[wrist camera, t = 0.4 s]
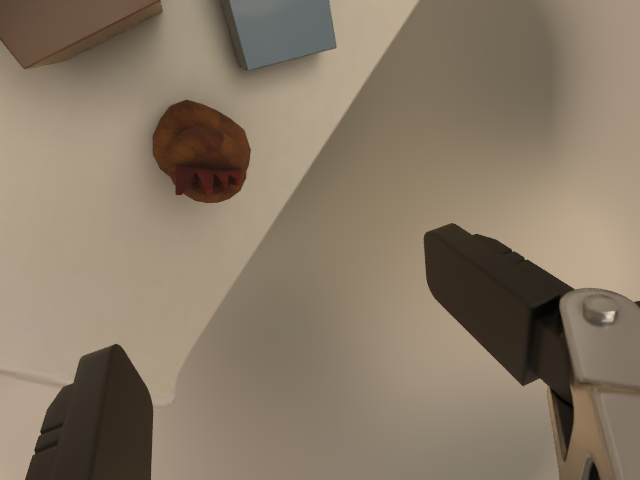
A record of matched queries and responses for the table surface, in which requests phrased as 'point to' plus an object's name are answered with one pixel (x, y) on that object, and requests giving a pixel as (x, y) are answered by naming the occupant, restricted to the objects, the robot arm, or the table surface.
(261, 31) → the slate block
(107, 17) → the walnut block
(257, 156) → the table surface
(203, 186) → the wooden figurine
